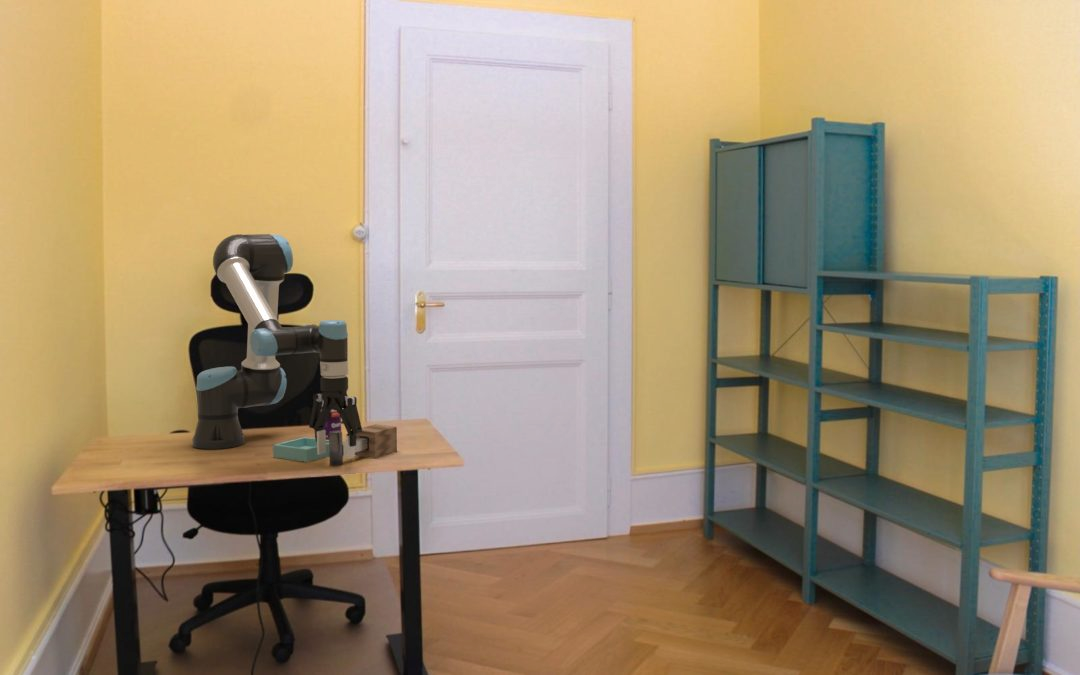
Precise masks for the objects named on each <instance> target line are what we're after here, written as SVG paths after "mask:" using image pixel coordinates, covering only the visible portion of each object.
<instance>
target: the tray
mask: <svg viewBox="0 0 1080 675" xmlns="http://www.w3.org/2000/svg"><path fill="white" fill-rule="evenodd" d="M272 453H273V454H272V456H273V458H276V459H277V458H278V459H283V460H289V461H295V460H297V462H302V461H304V463H309V462H308V461H310V462H313V461H317V460H320V459H324V458H327V457H326V456H328V457H329V440H326V453H323V454H320V455H318V454H317V442H316V440H315V437H307V436H304V437H299V438H297V439H291V440H287V441H283V442H280V443H276V444H272ZM323 457H324V458H323ZM319 458H320V459H319ZM316 459H317V460H316ZM312 460H313V461H312Z"/></svg>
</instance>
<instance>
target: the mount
mask: <svg viewBox="0 0 1080 675" xmlns="http://www.w3.org/2000/svg"><path fill="white" fill-rule="evenodd" d="M397 430H398V427H397V426H392V425H383V424H377V423H376V424H372V425H368V426H364V427H362V432H360V433H357V434H356V439H357V438H361V437H364V436H365V437H369V449H366V450H362V451H359V452H355V455H356V457H364V458H371V459H378V458H380V457H383V456H388V455H391V454H394V453H397V452H398V435H397V434H398V433H397Z"/></svg>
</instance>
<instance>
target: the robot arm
mask: <svg viewBox="0 0 1080 675" xmlns="http://www.w3.org/2000/svg"><path fill="white" fill-rule="evenodd" d="M212 265H213V269H214V273H215V275H216V277H217V278H218V279H219V281H220V282H222V283H224V284H226V287H227V289H228V291H229V292H230V294H231V296H232V297H233V300H234V301H235V303H236V305H237V306H238V308H239V310H240V312H241V314H242V315H243V317H244V319H245V321H246V322H247V344H246V345H247V346H246V358H245V359H244V360H243V361H241V366H240V369H241V370H237V368H236V367H235V366H223V367H222V366H220V367H214V368H213V367H212V368H210V369H206V370H203V371H201V372H199V374H198V375H196V376H197V377H196V386H195V389H196V399H197V400H196V401H197V402H196V403H197V404H196V405H197V406H196V407H197V423H196V427H195V432H194V434H193V437H192V447H193V448H196V449H201V450H202V449H203V450H217V449H219V450H220V449H229V448H235V447H239V446H242V445H244V444H245V441H246V440H245V434H244V432H243V429H242V426H241V423H240V421H239V416H238V414H239V412H238V411H239V409H242V408H250V407H251V408H252V407H258V406H259V407H260V406H264V407H265V406H269V405H273V404H277V403H279V402H280V401H281V400H282V399H283V398H284V395H285V393H286V390H287V382H288V381H287V377H286V376H287V375H286V372H285V370H284V369H283V368H282V367H281V363H280V362H278V360H277V359H276V356H284V355H295V354H308V353H318V354H319V366H320V367H319V369H320V370H319V371H320V372H319V374H320V376H321V378H320V385H319V386H320V390H321V391H322V392H321V393H320V392H319V393H315V394H313V396H312V399H313V404H312V408H311V414H310V419H309V424H308V427H309V428H310V429H313V430H314V438H315V440H316V442H317V454H318V455H320V454H323V453H326V431H325V430H322V429H325V428H324V425H325V423H326V420H327V418H328V416H329V414H330V411H331V410H332V409H333V410H337V413H339V414H340V416H341V422H343V425H344V426H343V427H344V428H345V431H346V432H347V434H345V442H346V455H345V459H346V460H347V459H348V460H349V459H353V458H355V446H356V434H357V433H360V432H362V428H363V427H362V423H361V419H360V414H359V411H358V406H357V403H358V401H357V397H356V396H352V397H351V396H349V395H348V393H347V392H348V390H349V377H348V375H349V362H348V350H349V349H348V339H349V338H348V336H349V335H348V329H347V328H348V327H347V326H348V325H347V323H346V321H345V320H342V319H325V320H320V322H319V324H318V325H317V324H304V325H302V326H300V325H298V326H290V327H289V326H287V327H286V326H284V327H283V326H282V325H281V324H280V321H279V320H278V307H279V289H280V284H281V283H283V282H284V281H285V274H287V273H289V272H290V271H291V270H292V268H293V265H294V257H293V251H292V247H291V245H290V242H289V241H288V240H287V238H285V237H284V236H282V235H279V234H271V233H270V234H269V233H268V234H267V233H264V234H263V233H262V234H257V233H256V234H255V233H254V234H241V233H240V234H231V235H230V236H228V237H225V238H224V239H222V240H221V241H220V242H219V243H218V245H217V246H216V248H215V250H214V253H213V257H212ZM323 401H324V403H323ZM322 403H323V406H322ZM321 409H322V411H321Z"/></svg>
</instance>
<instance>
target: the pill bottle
mask: <svg viewBox="0 0 1080 675" xmlns="http://www.w3.org/2000/svg"><path fill="white" fill-rule="evenodd" d="M323 403H324V401H323ZM323 403H322V406H323ZM321 411H322V409H321ZM324 428H325V429H322V430H325V431H326V440H329V432H331V431H342V419H341V416H340V414H339V413H337V410H333V409H332V410H331V411H330V414H329V416H328V418H327V420H326V423H325V425H324Z"/></svg>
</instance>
